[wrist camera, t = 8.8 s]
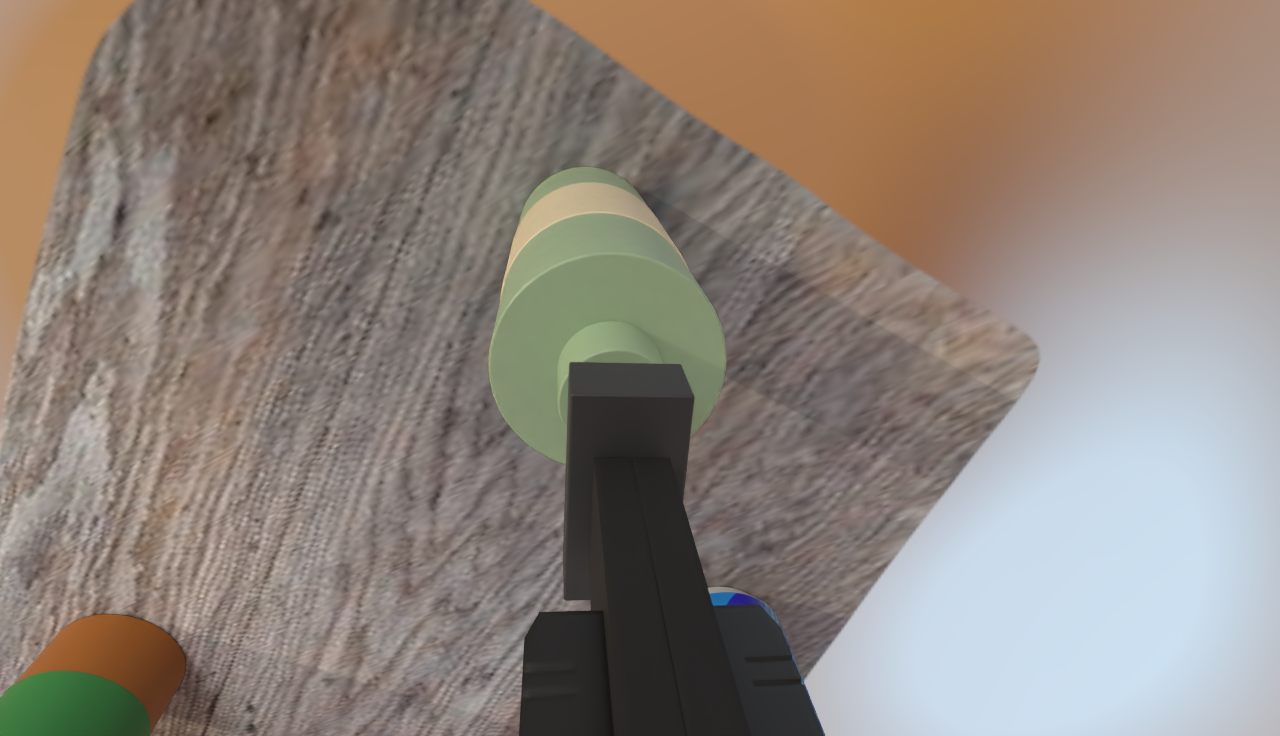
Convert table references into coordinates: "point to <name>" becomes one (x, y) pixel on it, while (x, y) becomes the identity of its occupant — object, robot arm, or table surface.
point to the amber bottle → (96, 681)
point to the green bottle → (594, 304)
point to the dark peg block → (617, 440)
